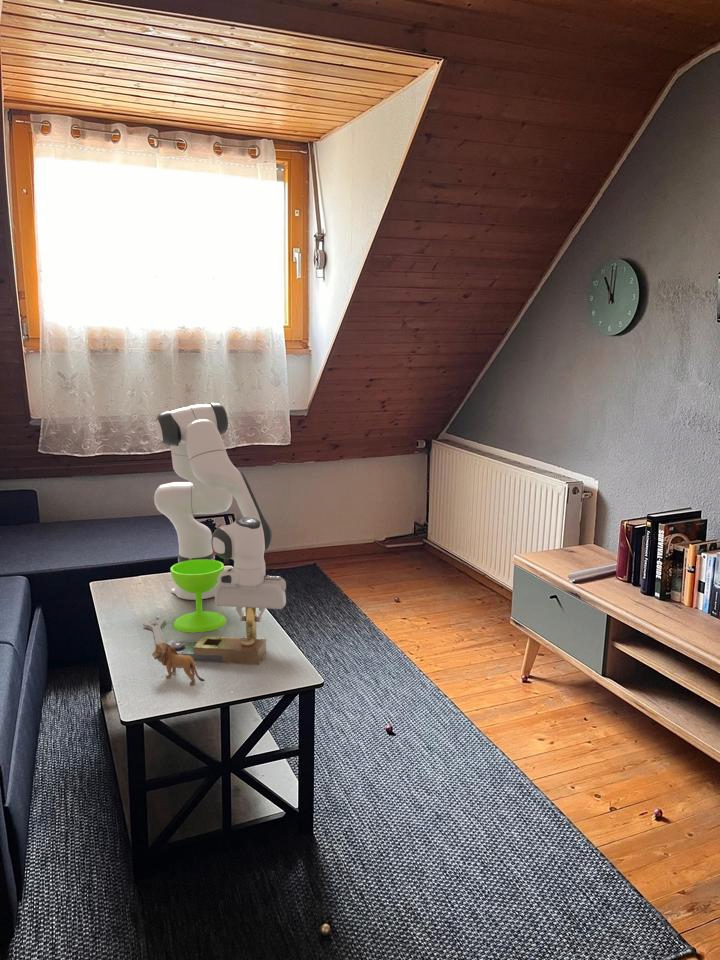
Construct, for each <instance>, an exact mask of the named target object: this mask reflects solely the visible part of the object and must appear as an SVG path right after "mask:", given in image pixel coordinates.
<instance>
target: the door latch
mask: <svg viewBox="0 0 720 960" xmlns="http://www.w3.org/2000/svg"><path fill="white" fill-rule="evenodd" d="M166 644H168V645H170V646H171V647H173V648H174V649H175V650H176V652H177V653H178V654H181V655H189V656H191V657H192V658H193V659H194V662H202V661H203V662H204V663H205V662H206V663H208V662H209V663H222V664H223V663H224V664H239V665H242V664H243V665H255V666H257V665H260V663H261V662H262V660H263V659H264V656H265V655H266V654H267V639H266V638H256V639H255V638H246V637H235V636H234V637H232V636H215V635H203V636H202V637H201V638H200V639H199V640H198V641H186V640H185V641H184V640H183V641H182V640H169V641H168V642H167V643H166Z"/></svg>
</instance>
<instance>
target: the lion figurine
mask: <svg viewBox="0 0 720 960" xmlns="http://www.w3.org/2000/svg"><path fill="white" fill-rule="evenodd" d="M154 645H155V647H154V651H153V653H152V654H151V656H152V657H153V658H154V660H156V661H158V662H160V663H161V664H162V665H163V666H165V667H166V671H167V674H168V675H166V676H165V678H166V679H167V678H169V679H171V678H172V677H173V675H175V674H177V669H182V670H183V671H184V673H185V675H186V676H187V677H188V678H189V679H190V680H191V681H190V682H189V685H190V686H193V685H196V684H195V683H196V679H195V677H196V678H197V679H198V681H200V682H203V683H204V682H205V681H206V680H205V679H204V678H201V677H200V676H199V673H198V672H197V667H196V663H195V662H196V661H194V659H193V658H192V657H191V656H189V655H181V654H178V653H177V652H176V650H175V649H174V648H173V647H171V646H170V645H168V644H167V643H166V642H165V643H163V642H160V643H157V644H156V643H155V644H154Z"/></svg>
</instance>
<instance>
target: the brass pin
mask: <svg viewBox="0 0 720 960" xmlns="http://www.w3.org/2000/svg"><path fill="white" fill-rule="evenodd" d="M244 608H245V614H246V621H245V636H246V637H245V638H255V639H258V625H257V623H258V622H255V620H256V619H255V616H256V615H257V608H250V607H244Z"/></svg>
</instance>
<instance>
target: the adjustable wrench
mask: <svg viewBox="0 0 720 960" xmlns="http://www.w3.org/2000/svg"><path fill="white" fill-rule="evenodd" d="M143 623H144V624H143V629H147V630H151V631H152V633H153V638H154V642H155V644H157V643H160V642H163V643H166V641H165V637H164V634H163V632H162V628H163V627H164V626H165V625H166V618H165V617H164V616H156V617H155V620H153V621H152V620H151V619H148V618H147V619H145V620H144V622H143Z"/></svg>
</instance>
